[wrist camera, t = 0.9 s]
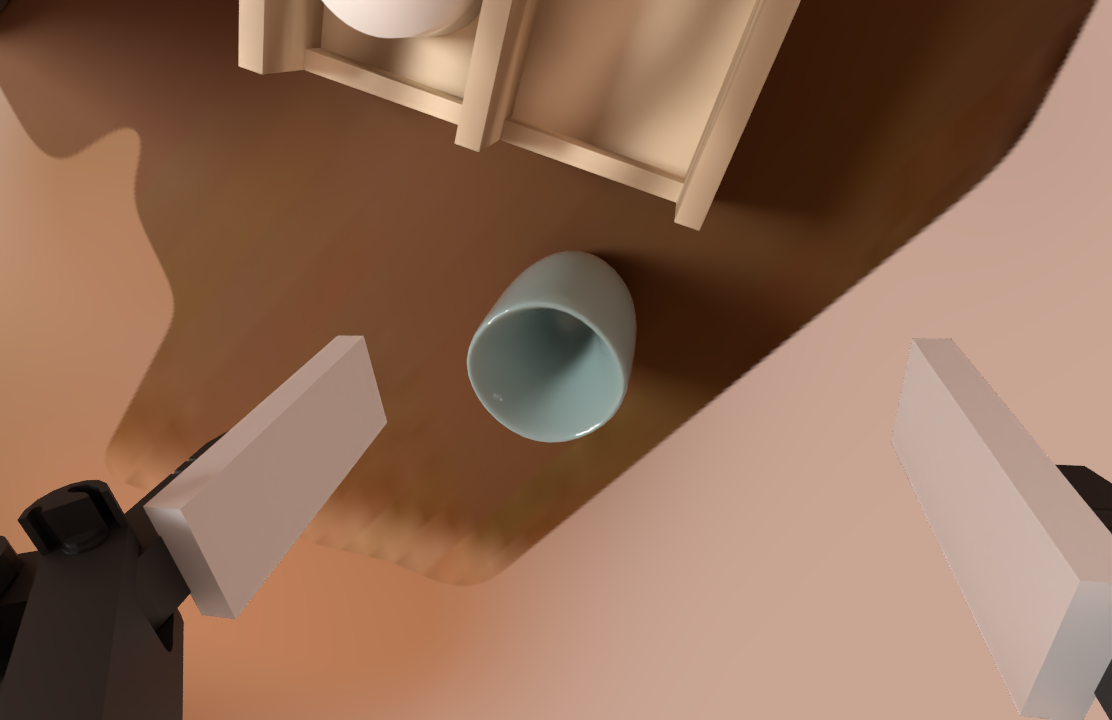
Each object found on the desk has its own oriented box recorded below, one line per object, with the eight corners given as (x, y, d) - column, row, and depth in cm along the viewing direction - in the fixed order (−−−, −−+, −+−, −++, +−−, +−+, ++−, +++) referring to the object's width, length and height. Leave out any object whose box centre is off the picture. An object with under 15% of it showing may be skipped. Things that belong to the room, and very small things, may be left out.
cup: (567, 371, 40) (533, 466, 31) (492, 280, 38) (434, 355, 29) (667, 312, 37) (659, 400, 28) (590, 208, 34) (557, 269, 26)
